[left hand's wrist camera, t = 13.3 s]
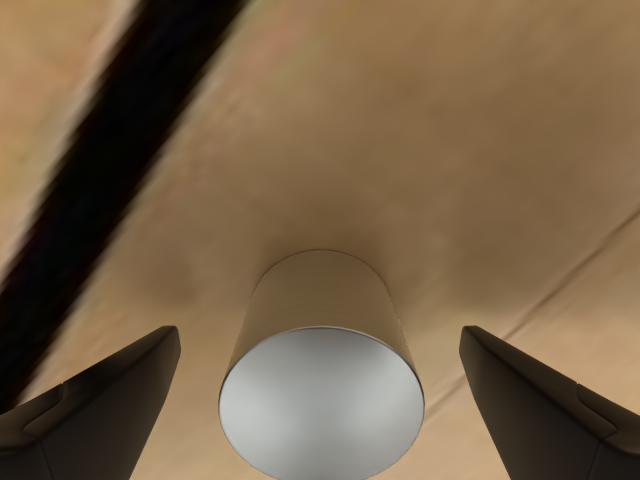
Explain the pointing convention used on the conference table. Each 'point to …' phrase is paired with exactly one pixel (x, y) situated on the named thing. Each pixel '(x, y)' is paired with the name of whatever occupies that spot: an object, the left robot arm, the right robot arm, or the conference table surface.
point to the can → (321, 374)
